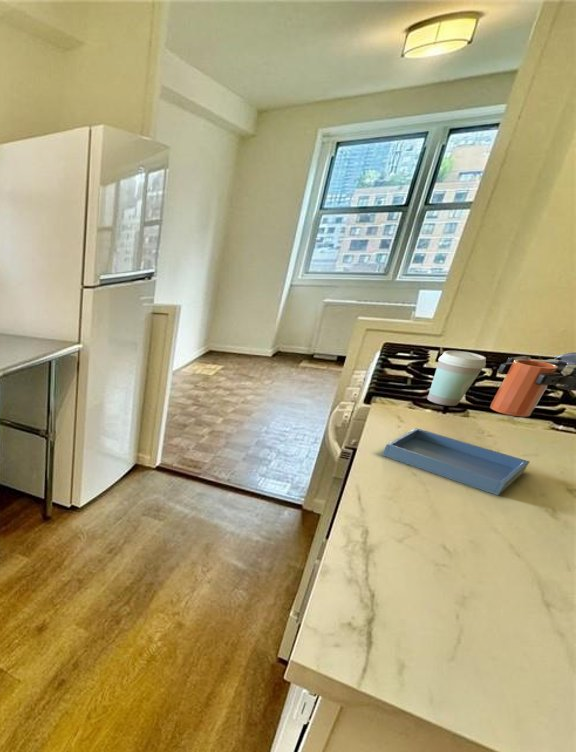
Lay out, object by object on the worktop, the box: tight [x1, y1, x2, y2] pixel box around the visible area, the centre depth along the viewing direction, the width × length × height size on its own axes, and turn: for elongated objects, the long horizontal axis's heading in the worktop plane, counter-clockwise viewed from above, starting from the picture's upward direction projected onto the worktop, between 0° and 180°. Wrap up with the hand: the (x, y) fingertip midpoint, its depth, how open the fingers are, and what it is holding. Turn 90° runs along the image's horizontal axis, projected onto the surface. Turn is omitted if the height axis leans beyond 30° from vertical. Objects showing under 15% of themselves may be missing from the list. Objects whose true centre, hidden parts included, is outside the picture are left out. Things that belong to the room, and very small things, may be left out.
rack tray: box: [381, 427, 530, 496], centre depth 92 cm, size 17×14×2 cm
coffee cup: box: [426, 350, 487, 407], centre depth 118 cm, size 8×9×12 cm
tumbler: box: [489, 359, 558, 418], centre depth 96 cm, size 6×6×10 cm
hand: (520, 374), depth 95 cm, fingers closed on tumbler, 6 cm apart
